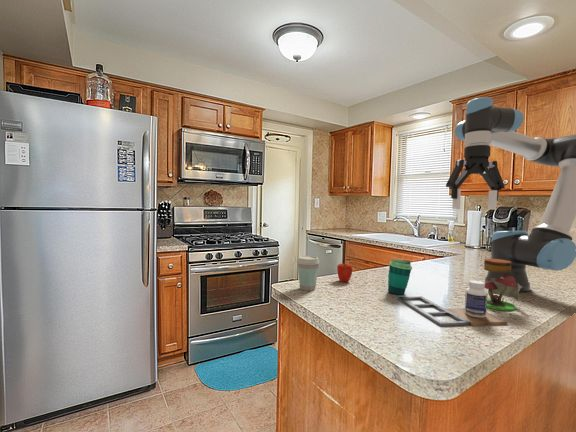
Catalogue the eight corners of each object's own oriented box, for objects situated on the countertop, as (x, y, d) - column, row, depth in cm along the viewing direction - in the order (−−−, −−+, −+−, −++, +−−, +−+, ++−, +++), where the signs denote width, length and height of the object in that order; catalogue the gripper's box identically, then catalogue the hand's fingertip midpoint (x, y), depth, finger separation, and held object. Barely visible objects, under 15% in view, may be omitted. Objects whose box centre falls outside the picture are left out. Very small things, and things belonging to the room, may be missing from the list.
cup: (388, 288, 117) (389, 258, 117) (410, 291, 114) (412, 260, 114) (387, 294, 109) (388, 261, 109) (411, 297, 107) (412, 263, 106)
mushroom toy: (505, 314, 92) (508, 265, 91) (467, 301, 103) (469, 258, 103) (529, 310, 96) (532, 263, 96) (490, 298, 108) (492, 256, 107)
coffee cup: (318, 292, 110) (319, 260, 109) (294, 291, 111) (295, 258, 111) (319, 286, 118) (320, 256, 118) (297, 285, 120) (298, 255, 119)
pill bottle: (489, 319, 85) (491, 285, 85) (468, 317, 86) (470, 283, 86) (481, 312, 91) (483, 280, 90) (461, 310, 92) (463, 279, 91)
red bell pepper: (352, 280, 129) (353, 262, 129) (351, 283, 123) (351, 265, 123) (337, 278, 131) (338, 261, 131) (335, 282, 125) (336, 264, 125)
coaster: (477, 310, 95) (477, 307, 95) (507, 324, 84) (507, 321, 84) (445, 311, 93) (445, 308, 93) (471, 325, 82) (471, 322, 82)
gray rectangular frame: (421, 298, 106) (421, 296, 105) (470, 325, 83) (470, 322, 83) (397, 299, 104) (397, 297, 104) (440, 326, 81) (440, 323, 81)
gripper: (500, 149, 107) (497, 209, 108) (436, 146, 103) (433, 208, 104) (519, 145, 100) (516, 210, 101) (451, 142, 96) (448, 208, 97)
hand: (474, 209), depth 103 cm, fingers open, 13 cm apart
